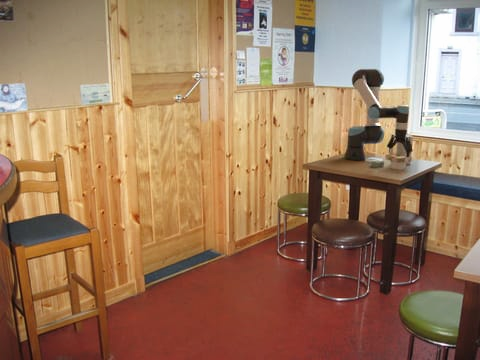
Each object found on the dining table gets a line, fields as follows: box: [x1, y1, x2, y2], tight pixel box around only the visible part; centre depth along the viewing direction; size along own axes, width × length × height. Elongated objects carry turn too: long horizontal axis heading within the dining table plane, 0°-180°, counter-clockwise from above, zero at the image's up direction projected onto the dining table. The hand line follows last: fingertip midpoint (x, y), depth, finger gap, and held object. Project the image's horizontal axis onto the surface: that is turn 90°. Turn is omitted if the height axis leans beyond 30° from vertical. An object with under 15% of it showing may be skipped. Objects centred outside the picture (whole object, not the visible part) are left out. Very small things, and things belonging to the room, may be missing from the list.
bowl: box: [389, 161, 407, 171], centre depth 346 cm, size 10×10×6 cm
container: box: [395, 134, 414, 166], centre depth 360 cm, size 10×10×20 cm
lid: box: [384, 153, 413, 163], centre depth 345 cm, size 12×12×4 cm
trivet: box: [370, 159, 385, 169], centre depth 351 cm, size 6×6×4 cm
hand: (398, 159), depth 346 cm, fingers open, 13 cm apart
